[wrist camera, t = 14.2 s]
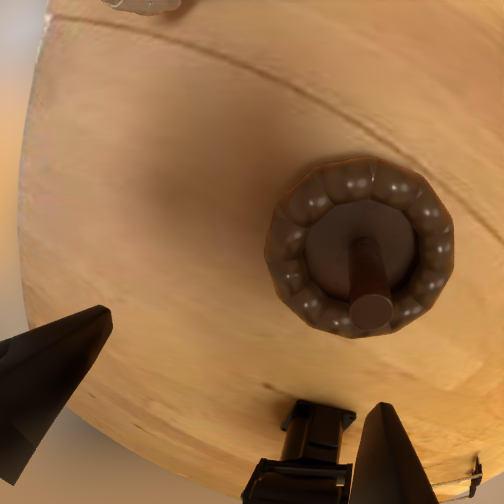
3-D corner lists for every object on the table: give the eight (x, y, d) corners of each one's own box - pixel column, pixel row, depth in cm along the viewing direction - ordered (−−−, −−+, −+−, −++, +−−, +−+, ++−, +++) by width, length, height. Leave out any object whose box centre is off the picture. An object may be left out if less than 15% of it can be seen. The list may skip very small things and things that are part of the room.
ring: (400, 338, 19) (403, 360, 17) (254, 294, 21) (245, 313, 19) (474, 197, 14) (489, 209, 12) (296, 130, 15) (290, 133, 13)
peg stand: (392, 310, 20) (402, 386, 14) (287, 277, 21) (263, 348, 15) (441, 208, 16) (486, 263, 10) (321, 165, 17) (312, 198, 11)
